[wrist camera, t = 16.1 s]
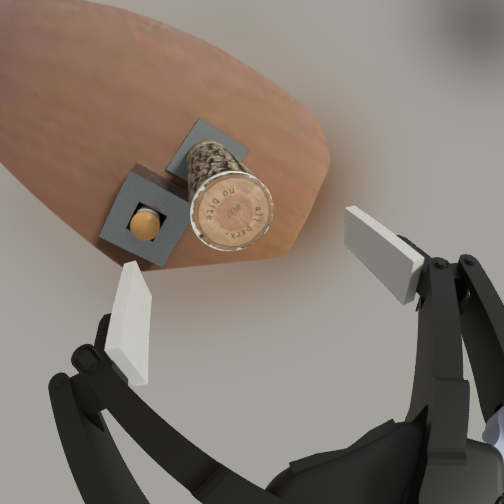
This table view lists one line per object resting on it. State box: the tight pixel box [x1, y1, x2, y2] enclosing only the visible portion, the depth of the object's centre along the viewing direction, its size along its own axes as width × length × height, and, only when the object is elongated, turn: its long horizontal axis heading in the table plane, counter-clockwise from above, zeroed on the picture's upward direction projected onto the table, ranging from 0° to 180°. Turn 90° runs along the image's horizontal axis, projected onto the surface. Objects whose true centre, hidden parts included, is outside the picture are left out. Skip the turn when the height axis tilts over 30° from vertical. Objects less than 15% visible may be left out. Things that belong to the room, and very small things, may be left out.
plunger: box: [130, 203, 161, 241], centre depth 41 cm, size 5×5×7 cm
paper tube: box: [187, 140, 273, 251], centre depth 32 cm, size 7×7×25 cm
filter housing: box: [99, 163, 191, 267], centre depth 42 cm, size 12×12×6 cm
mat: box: [166, 118, 249, 182], centre depth 43 cm, size 10×10×1 cm
